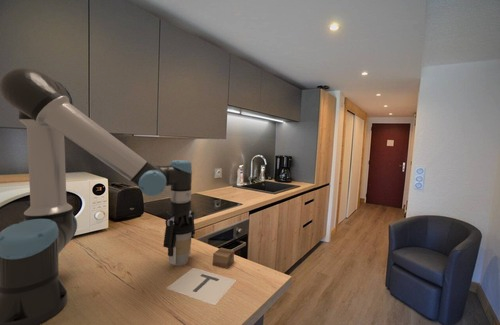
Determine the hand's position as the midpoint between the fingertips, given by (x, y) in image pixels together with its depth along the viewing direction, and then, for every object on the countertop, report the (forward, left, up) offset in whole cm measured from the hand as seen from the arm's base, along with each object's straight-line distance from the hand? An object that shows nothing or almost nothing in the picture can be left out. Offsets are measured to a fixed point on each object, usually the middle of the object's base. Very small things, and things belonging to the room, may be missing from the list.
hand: (180, 258), depth 90 cm
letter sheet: (-8, -16, -2) cm, 18 cm away
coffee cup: (0, 0, -2) cm, 2 cm away
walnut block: (+7, -16, -2) cm, 17 cm away
